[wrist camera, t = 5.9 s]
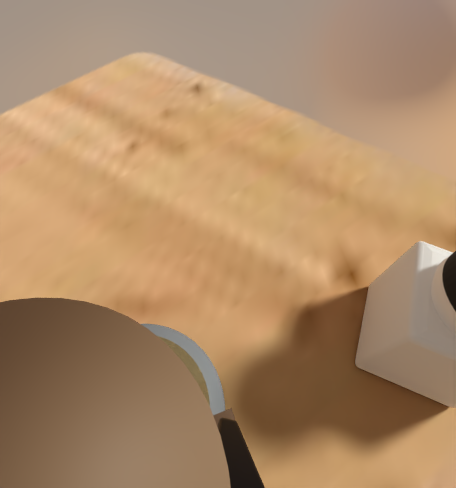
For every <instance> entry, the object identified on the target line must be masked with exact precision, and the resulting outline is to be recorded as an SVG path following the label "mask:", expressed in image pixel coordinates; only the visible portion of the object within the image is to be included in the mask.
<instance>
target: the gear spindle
mask: <svg viewBox="0 0 456 488" xmlns="http://www.w3.org/2000/svg"><path fill="white" fill-rule="evenodd" d="M221 417H224V418H228V419H232V420H235V418H234V415H233V412H232V409H231V408H230V409H228V410H225V411H223V412H220V413H218V414H215V415H213V414H212V411H211V408H210V406H209V404H208V402H207V400H206V398H205V396H204V394H203V393H202V391H201V389H200V387H199V385H198V383H197V381H196V380H195V379H194V377H193V376H192V374H191V373H190V371H189V370H188V368H187V367H186V366H185V364H184V363H183V361H182V360H181V359H180V358H179V357H178V356H177V355H176V354H175V353H174V352H173V350H172V349H171V348H170V347H169V346H168V345H167V344H166V343H165V342H164V341H162V340H161V339H160V338H159V337H157V336H156V335H155V334H154V333H153V332H151V331H150V330H149V329H148V328H146V327H144V326H143V325H141V324H139V323H138V322H136V321H134V320H133V319H131V318H129V317H128V316H125V315H123V314H121V313H118V312H116V311H114V310H111V309H109V308H106V307H103V306H99V305H95V304H92V303H88V302H84V301H77V300H70V299H63V298H30V299H19V300H10V301H5V302H0V488H231V486H230V478H229V470H228V465H227V460H226V456H225V452H224V448H223V444H222V440H221V435H220V433H219V430H218V427H217V426H218V423H219V419H220V418H221Z"/></svg>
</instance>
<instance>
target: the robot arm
mask: <svg viewBox="0 0 456 488" xmlns="http://www.w3.org/2000/svg"><path fill="white" fill-rule="evenodd" d="M217 427H218V430H219V433H220V435H221V440H222V444H223V448H224V452H225V456H226V460H227V465H228V470H229V478H230V486H231V488H265V487H264V485H263V483H262V480H261V478H260V475H259V473H258V471H257V468H256V466H255V464H254V461H253V459H252V457H251V454H250V452H249V450H248V447H247V445H246V442H245V440H244V438H243V435H242V433H241V431H240V428H239V426H238V424H237V422H236V421H235V420H232V419H228V418H224V417H221V418H220V419H219V423H218V426H217Z"/></svg>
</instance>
